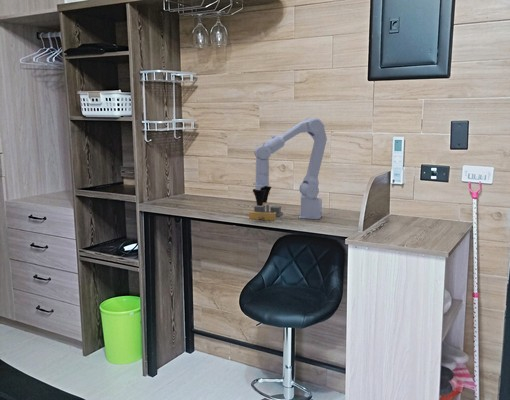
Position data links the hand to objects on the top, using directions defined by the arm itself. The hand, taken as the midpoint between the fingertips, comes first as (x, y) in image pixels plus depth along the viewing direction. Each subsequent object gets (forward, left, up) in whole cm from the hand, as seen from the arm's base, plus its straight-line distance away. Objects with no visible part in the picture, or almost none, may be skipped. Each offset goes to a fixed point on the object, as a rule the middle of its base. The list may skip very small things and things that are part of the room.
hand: (262, 204), depth 227 cm
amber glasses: (0, -1, -7) cm, 7 cm away
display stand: (0, -10, -7) cm, 12 cm away
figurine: (+7, -26, -7) cm, 28 cm away
